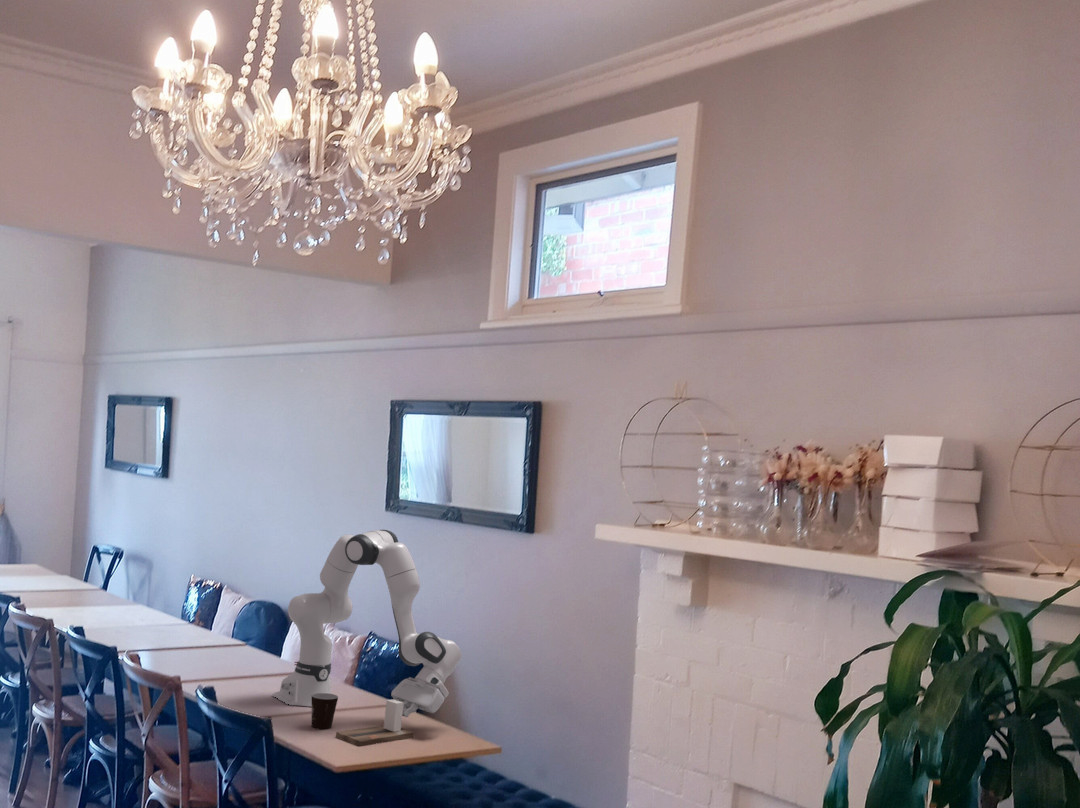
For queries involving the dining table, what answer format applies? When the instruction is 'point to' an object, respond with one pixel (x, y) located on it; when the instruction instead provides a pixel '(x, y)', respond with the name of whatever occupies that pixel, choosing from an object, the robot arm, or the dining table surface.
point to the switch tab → (393, 715)
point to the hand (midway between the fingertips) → (402, 715)
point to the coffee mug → (323, 710)
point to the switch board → (372, 735)
